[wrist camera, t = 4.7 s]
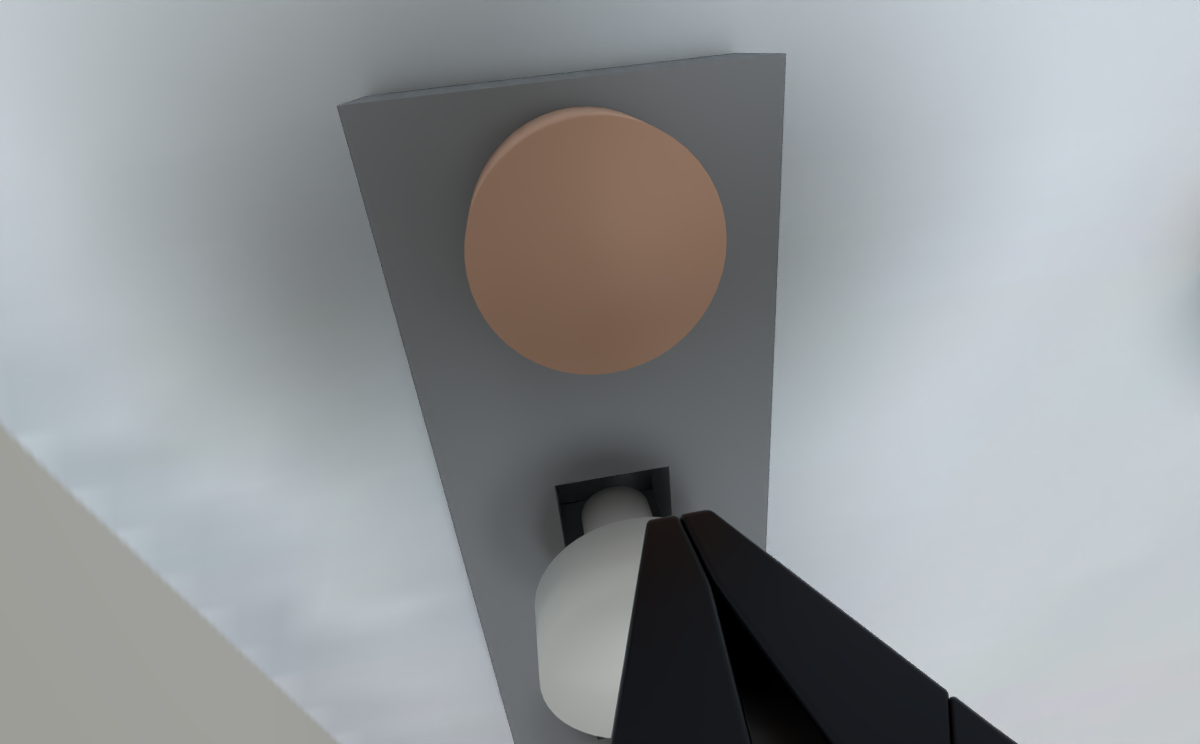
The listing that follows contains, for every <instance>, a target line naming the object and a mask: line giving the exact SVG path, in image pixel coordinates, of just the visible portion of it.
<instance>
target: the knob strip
mask: <svg viewBox="0 0 1200 744" xmlns="http://www.w3.org/2000/svg"><path fill="white" fill-rule="evenodd" d="M785 66H786V54H785V53H734V54H725V55H716V56H708V57H699V58H690V59H682V60H673V61H665V62H656V63H647V64H639V65H630V66H621V67H613V68H604V69H595V70H587V71H578V72H569V73H561V74H552V75H544V76H535V77H526V78H518V79H509V80H500V81H492V82H483V83H474V84H466V85H457V86H448V87H440V88H431V89H423V90H414V91H405V92H397V93H388V94H379V95H371V96H365V97H362V98H359V99H356V100H353V101H350V102H347V103H344V104H341V105H338V106H337V108H338V112H339V115H340V119H341V122H342V126H343V129H344V133H345V137H346V140H347V144H348V147H349V151H350V155H351V158H352V162H353V165H354V169H355V173H356V176H357V180H358V183H359V187H360V191H361V194H362V198H363V201H364V205H365V209H366V212H367V216H368V219H369V223H370V227H371V230H372V234H373V237H374V241H375V244H376V248H377V252H378V255H379V259H380V262H381V266H382V270H383V273H384V277H385V280H386V284H387V288H388V291H389V295H390V298H391V302H392V306H393V309H394V313H395V316H396V320H397V324H398V327H399V331H400V334H401V338H402V342H403V345H404V349H405V352H406V356H407V359H408V363H409V367H410V370H411V374H412V377H413V381H414V385H415V388H416V392H417V395H418V399H419V403H420V406H421V410H422V413H423V417H424V421H425V424H426V428H427V431H428V435H429V439H430V442H431V446H432V449H433V453H434V457H435V460H436V464H437V467H438V471H439V474H440V478H441V482H442V485H443V489H444V492H445V496H446V500H447V503H448V507H449V510H450V514H451V518H452V521H453V525H454V528H455V532H456V536H457V539H458V543H459V546H460V550H461V554H462V557H463V561H464V564H465V568H466V572H467V575H468V579H469V582H470V586H471V589H472V593H473V597H474V600H475V604H476V607H477V611H478V615H479V618H480V622H481V625H482V629H483V633H484V636H485V640H486V643H487V647H488V651H489V654H490V658H491V661H492V665H493V669H494V672H495V676H496V679H497V683H498V687H499V690H500V694H501V697H502V701H503V704H504V708H505V712H506V715H507V719H508V722H509V726H510V730H511V733H512V737H513V740H514V744H610V740H611V738H605V737H600V736H594V735H591V734H588V733H584V732H582V731H579V730H577V729H575V728H573V727H571V726H569V725H568V724H566V723H564V722H563V721H562V720H560V719H559V718H558V717H557V716H556V715H555V714H554V713H553V712H552V711H551V710H550V709H549V707H548V706H547V704H546V702H545V700H544V698H543V695H542V693H541V689H540V681H539V666H538V650H537V634H536V618H535V595H536V591H537V587H538V584H539V582H540V579H541V577H542V575H543V573H544V572H545V570H546V569H547V567H548V565H549V564H550V563H551V562H552V561H553V559H554V558H555V557H556V556H557V555H558V554H559V553H560V552H561V551H562V550H563V549H564V548H566V547H567V546H568V545H570V544H571V543H572V542H574V541H575V540H576V539H578V538H580V537H582V536H583V535H584V530H583V524H582V517H581V515H582V510H583V507H584V505H585V503H586V502H587V501H581V502H575V503H570V504H564V505H560V501H559V495H558V489H557V485H562V484H568V483H574V482H580V481H585V480H591V479H597V478H603V477H609V476H615V475H621V474H626V473H632V472H638V471H644V470H650V469H651V480H652V489H651V490H645V491H640V492H641V493H642V494H643V495H644V496H645V497H646V499H647V501H648V504H649V507H650V510H651V513H652V516H653V517H667V516H677V517H678V518H679V519H680V516H681V515H682V514H684V513H690V512H696V511H701V510H711V511H713V512H715V513H716V514H717V515H719V516H720V517H721V518H723V519H724V520H725V521H727V522H728V523H729V524H731V525H732V526H733V527H734V528H736V529H737V530H738V531H740V532H741V533H742V534H744V535H745V536H746V537H747V538H749V539H750V540H751V541H753V542H754V543H755V544H757V545H758V546H759V547H760V548H762V549H763V550H764V551H766V536H767V511H768V486H769V461H770V437H771V412H772V387H773V363H774V338H775V313H776V288H777V264H778V239H779V214H780V190H781V165H782V140H783V115H784V91H785ZM585 106H591V107H601V108H607V109H612V110H616V111H620V112H623V113H625V114H627V115H630V116H632V117H635V118H637V119H639V120H641V121H643V122H645V123H647V124H649V125H651V126H654V127H656V128H658V129H659V130H661V131H663V132H664V133H666V134H668V135H670V136H671V137H673V138H674V139H676V140H677V141H678V142H679V143H681V144H682V145H683V146H684V147H686V148H687V149H688V150H689V151H690V152H691V153H692V154H693V155H694V157H695V158H696V159H697V160H698V161H699V162H700V163H701V165H702V166H703V168H704V169H705V171H706V172H707V173H708V175H709V176H710V178H711V180H712V182H713V184H714V186H715V188H716V190H717V193H718V196H719V199H720V201H721V204H722V207H723V212H724V217H725V222H726V236H727V244H726V258H725V263H724V268H723V273H722V276H721V279H720V282H719V285H718V288H717V290H716V292H715V295H714V297H713V299H712V301H711V303H710V305H709V306H708V308H707V309H706V311H705V313H704V314H703V316H702V317H701V319H700V320H699V321H698V322H697V324H696V325H695V326H694V327H693V329H692V330H691V331H690V332H689V333H688V334H687V335H686V336H685V337H684V338H683V339H682V340H680V341H679V342H678V343H677V344H675V345H674V346H673V347H672V348H670V349H669V350H668V351H666V352H664V353H663V354H661V355H660V356H658V357H656V358H655V359H652V360H650V361H648V362H646V363H644V364H642V365H639V366H636V367H633V368H630V369H627V370H624V371H619V372H614V373H608V374H598V375H582V374H573V373H566V372H561V371H558V370H554V369H550V368H547V367H545V366H542V365H540V364H537V363H535V362H533V361H531V360H529V359H528V358H526V357H524V356H522V355H521V354H519V353H518V352H516V351H515V350H514V349H512V348H511V347H510V346H508V345H507V344H506V343H505V342H504V341H503V340H502V339H501V338H500V337H499V336H498V335H497V334H496V333H495V332H494V330H493V329H492V328H491V327H490V326H489V324H488V323H487V322H486V320H485V318H484V317H483V315H482V314H481V312H480V310H479V309H478V307H477V304H476V302H475V300H474V297H473V295H472V293H471V289H470V286H469V282H468V279H467V274H466V267H465V257H464V242H465V234H466V227H467V221H468V216H469V210H470V205H471V200H472V196H473V193H474V189H475V186H476V183H477V181H478V178H479V176H480V174H481V171H482V170H483V168H484V166H485V165H486V163H487V161H488V160H489V158H490V156H491V155H492V154H493V153H494V151H495V150H496V149H497V148H498V146H499V145H500V144H501V143H502V142H503V141H504V140H505V139H506V138H507V137H508V136H510V135H511V134H512V133H513V132H514V131H516V130H517V129H518V128H520V127H521V126H523V125H524V124H526V123H527V122H529V121H531V120H533V119H535V118H537V117H539V116H541V115H544V114H547V113H550V112H553V111H556V110H560V109H565V108H570V107H585Z"/></svg>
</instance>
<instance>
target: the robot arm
mask: <svg viewBox="0 0 1200 744" xmlns="http://www.w3.org/2000/svg"><path fill="white" fill-rule="evenodd" d="M610 744H1017V743H1016V742H1015V741H1013V740H1012V739H1011V738H1009V737H1008V736H1006V735H1005V734H1004V733H1002V732H1001V731H1000V730H998V729H997V728H996V727H994V726H993V725H992V724H990V723H989V722H988V721H986V720H985V719H984V718H982V717H981V716H980V715H978V714H977V713H976V712H975V711H973V710H972V709H971V708H969V707H968V706H967V705H965V704H964V703H963V702H962V701H960V700H959V699H958V698H956V697H950V698H949V695H948V692H947V690H945V689H944V688H943V687H942V686H940V685H939V684H938V683H936V682H935V681H934V680H932V679H931V678H930V677H928V676H927V675H926V674H925V673H923V672H922V671H921V670H919V669H918V668H917V667H915V666H914V665H913V664H912V663H910V662H909V661H908V660H906V659H905V658H904V657H902V656H901V655H900V654H899V653H897V652H896V651H895V650H893V649H892V648H891V647H889V646H888V645H887V644H886V643H884V642H883V641H882V640H880V639H879V638H878V637H876V636H875V635H874V634H872V633H871V632H870V631H869V630H867V629H866V628H865V627H863V626H862V625H861V624H859V623H858V622H857V621H856V620H854V619H853V618H852V617H850V616H849V615H848V614H846V613H845V612H844V611H843V610H841V609H840V608H839V607H837V606H836V605H835V604H833V603H832V602H831V601H830V600H828V599H827V598H826V597H824V596H823V595H822V594H820V593H819V592H818V591H816V590H815V589H814V588H813V587H811V586H810V585H809V584H807V583H806V582H805V581H803V580H802V579H801V578H800V577H798V576H797V575H796V574H794V573H793V572H792V571H790V570H789V569H788V568H787V567H785V566H784V565H783V564H781V563H780V562H779V561H777V560H776V559H775V558H773V557H772V556H771V555H770V554H768V553H767V552H766V551H764V550H763V549H762V548H760V547H759V546H758V545H757V544H755V543H754V542H753V541H751V540H750V539H749V538H747V537H746V536H745V535H744V534H742V533H741V532H740V531H738V530H737V529H736V528H734V527H733V526H732V525H731V524H729V523H728V522H727V521H725V520H724V519H723V518H721V517H720V516H719V515H717V514H716V513H715V512H713V511H711V510H701V511H696V512H690V513H684V514H682V515H681V516H680V519H679V518H678V517H677V516H667V517H661V518H656V519H651V520H649V521H648V522H647V524H646V529H645V535H644V541H643V547H642V553H641V559H640V565H639V571H638V577H637V583H636V589H635V595H634V602H633V608H632V614H631V620H630V626H629V632H628V638H627V644H626V650H625V656H624V662H623V668H622V674H621V680H620V686H619V692H618V698H617V704H616V710H615V716H614V722H613V728H612V734H611V740H610Z"/></svg>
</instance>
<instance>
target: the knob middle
mask: <svg viewBox="0 0 1200 744" xmlns="http://www.w3.org/2000/svg"><path fill="white" fill-rule="evenodd" d="M581 517H582V524H583V530H584V535H583V536H582V537H580V538H578V539H576V540H575V541H574V542H572V543H571V544H570V545H568V546H567V547H566V548H564V549H563V550H562V551H561V552H560V553H559V554H558V555H557V556H556V557H555V558H554V559H553V561H552V562H551V563H550V564H549V565H548V567H547V569H546V570H545V572H544V573H543V575H542V577H541V579H540V582H539V584H538V587H537V591H536V595H535V618H536V634H537V650H538V666H539V681H540V689H541V693H542V695H543V698H544V700H545V702H546V704H547V706H548V707H549V709H550V710H551V711H552V712H553V713H554V714H555V715H556V716H557V717H558V718H559V719H560V720H562V721H563V722H564V723H566V724H568V725H569V726H571V727H573V728H575V729H577V730H579V731H582V732H584V733H588V734H591V735H594V736H600V737H605V738H611V734H612V728H613V722H614V716H615V710H616V704H617V698H618V692H619V686H620V680H621V674H622V668H623V662H624V656H625V650H626V644H627V638H628V632H629V626H630V620H631V614H632V608H633V602H634V595H635V589H636V583H637V577H638V571H639V565H640V559H641V553H642V547H643V541H644V535H645V529H646V524H647V522H648V521H649V520H651V519H656V518H661V517H653V516H652V513H651V510H650V507H649V504H648V501H647V499H646V497H645V496H644V495H643V494H642V493H641V492H640V491H638V490H636V489H634V488H631V487H628V486H612V487H608V488H605V489H602V490H600V491H598V492H596V493H595V494H594V495H592V496H591V497H590V498H589V499H588V500H587V502H586V503H585V505H584V507H583V510H582V515H581Z"/></svg>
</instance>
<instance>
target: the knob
mask: <svg viewBox="0 0 1200 744" xmlns="http://www.w3.org/2000/svg"><path fill="white" fill-rule="evenodd" d="M726 244H727V236H726V222H725V217H724V212H723V207H722V204H721V201H720V199H719V196H718V193H717V190H716V188H715V186H714V184H713V182H712V180H711V178H710V176H709V175H708V173H707V172H706V171H705V169H704V168H703V166H702V165H701V163H700V162H699V161H698V160H697V159H696V158H695V157H694V155H693V154H692V153H691V152H690V151H689V150H688V149H687V148H686V147H684V146H683V145H682V144H681V143H679V142H678V141H677V140H676V139H674V138H673V137H671V136H670V135H668V134H666V133H664V132H663V131H661V130H659V129H658V128H656V127H654V126H651V125H649V124H647V123H645V122H643V121H641V120H639V119H637V118H635V117H632V116H630V115H627V114H625V113H623V112H620V111H616V110H612V109H607V108H601V107H591V106H585V107H570V108H565V109H560V110H556V111H553V112H550V113H547V114H544V115H541V116H539V117H537V118H535V119H533V120H531V121H529V122H527V123H526V124H524V125H523V126H521V127H520V128H518V129H517V130H516V131H514V132H513V133H512V134H511V135H510V136H508V137H507V138H506V139H505V140H504V141H503V142H502V143H501V144H500V145H499V146H498V148H497V149H496V150H495V151H494V153H493V154H492V155H491V156H490V158H489V160H488V161H487V163H486V165H485V166H484V168H483V170H482V171H481V174H480V176H479V178H478V181H477V183H476V186H475V189H474V193H473V196H472V200H471V205H470V210H469V216H468V221H467V227H466V234H465V242H464V257H465V267H466V274H467V279H468V282H469V286H470V289H471V293H472V295H473V297H474V300H475V302H476V304H477V307H478V309H479V310H480V312H481V314H482V315H483V317H484V318H485V320H486V322H487V323H488V324H489V326H490V327H491V328H492V329H493V330H494V332H495V333H496V334H497V335H498V336H499V337H500V338H501V339H502V340H503V341H504V342H505V343H506V344H507V345H508V346H510V347H511V348H512V349H514V350H515V351H516V352H518V353H519V354H521V355H522V356H524V357H526V358H528V359H529V360H531V361H533V362H535V363H537V364H540V365H542V366H545V367H547V368H550V369H554V370H558V371H561V372H566V373H573V374H582V375H598V374H608V373H614V372H619V371H624V370H627V369H630V368H633V367H636V366H639V365H642V364H644V363H646V362H648V361H650V360H652V359H655V358H656V357H658V356H660V355H661V354H663V353H664V352H666V351H668V350H669V349H670V348H672V347H673V346H674V345H675V344H677V343H678V342H679V341H680V340H682V339H683V338H684V337H685V336H686V335H687V334H688V333H689V332H690V331H691V330H692V329H693V327H694V326H695V325H696V324H697V322H698V321H699V320H700V319H701V317H702V316H703V314H704V313H705V311H706V309H707V308H708V306H709V305H710V303H711V301H712V299H713V297H714V295H715V292H716V290H717V288H718V285H719V282H720V279H721V276H722V273H723V268H724V263H725V258H726Z"/></svg>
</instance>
